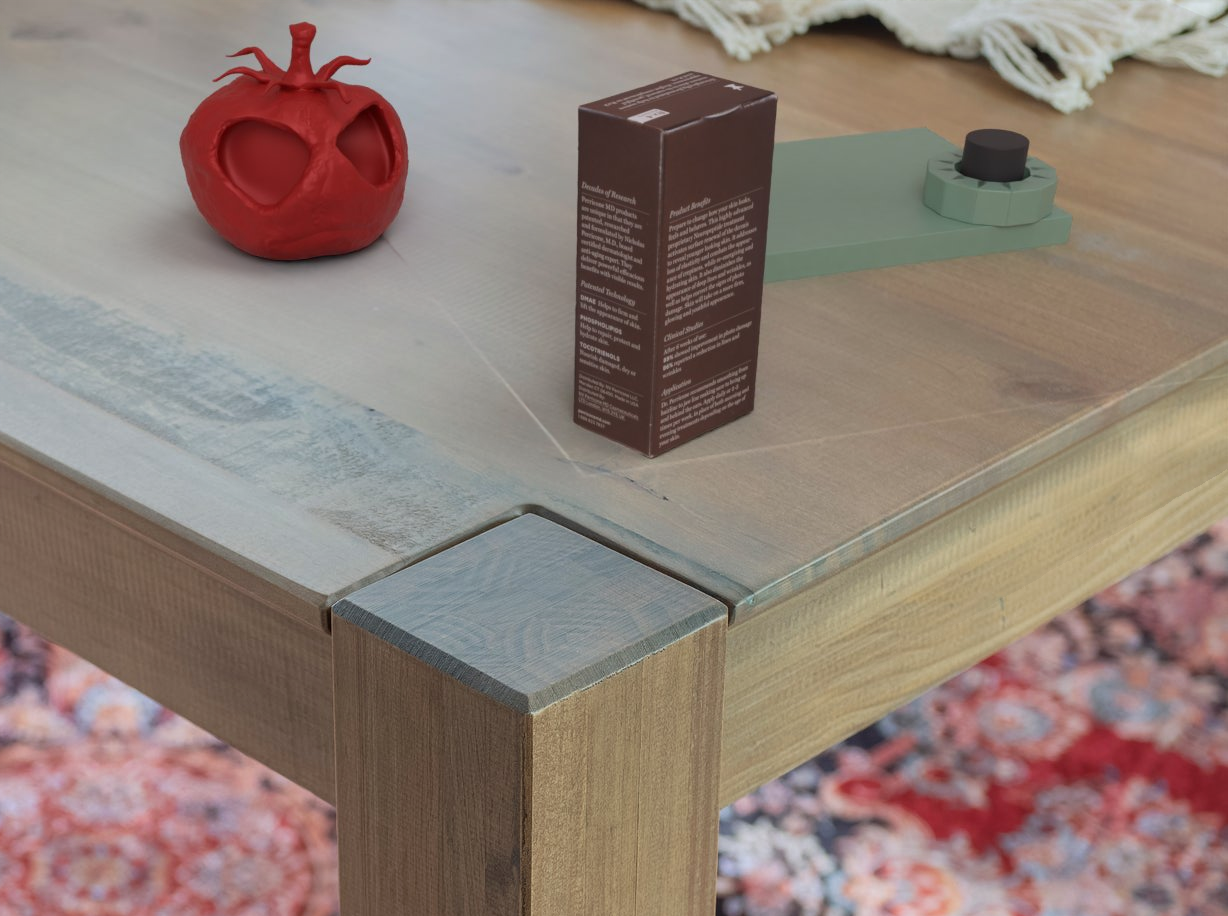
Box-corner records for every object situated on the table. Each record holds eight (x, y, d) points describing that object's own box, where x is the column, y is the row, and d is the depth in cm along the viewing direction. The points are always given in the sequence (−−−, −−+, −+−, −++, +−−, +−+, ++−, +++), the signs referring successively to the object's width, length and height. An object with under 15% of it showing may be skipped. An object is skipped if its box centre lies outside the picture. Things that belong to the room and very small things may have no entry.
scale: (921, 154, 96) (930, 94, 95) (1072, 248, 86) (1085, 183, 85) (631, 186, 92) (635, 124, 90) (754, 290, 82) (761, 222, 80)
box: (667, 377, 75) (691, 64, 68) (756, 416, 72) (791, 94, 65) (559, 423, 71) (573, 99, 64) (648, 465, 69) (672, 131, 62)
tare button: (1000, 163, 88) (1007, 125, 86) (1034, 184, 85) (1042, 145, 84) (947, 170, 87) (954, 131, 86) (980, 190, 85) (987, 151, 84)
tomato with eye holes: (169, 210, 89) (151, 2, 83) (376, 189, 91) (372, -14, 86) (213, 290, 81) (197, 67, 75) (437, 264, 84) (437, 47, 78)
